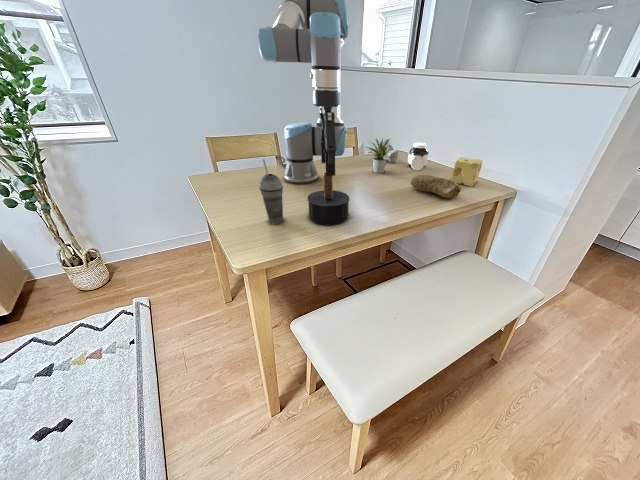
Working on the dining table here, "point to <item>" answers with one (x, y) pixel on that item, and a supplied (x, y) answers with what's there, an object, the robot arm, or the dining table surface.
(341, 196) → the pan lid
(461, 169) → the cheese
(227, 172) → the dining table surface
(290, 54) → the robot arm
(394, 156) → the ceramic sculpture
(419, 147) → the spread jar
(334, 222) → the black round bowl
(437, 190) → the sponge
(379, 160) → the house plant
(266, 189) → the beverage cup
